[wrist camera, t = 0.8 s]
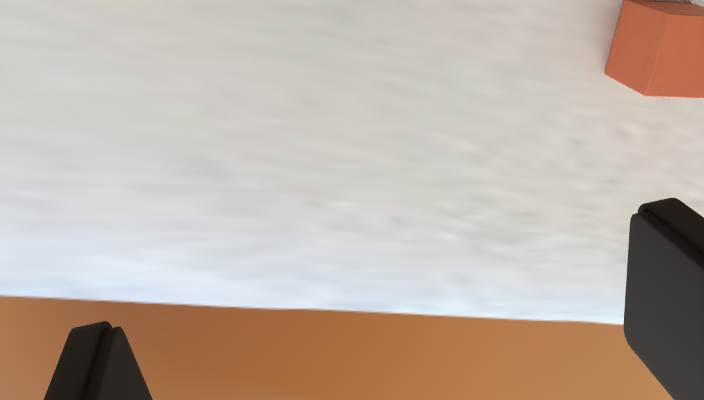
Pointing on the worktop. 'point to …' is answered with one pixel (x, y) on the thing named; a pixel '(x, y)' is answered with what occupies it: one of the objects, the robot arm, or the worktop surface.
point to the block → (659, 49)
